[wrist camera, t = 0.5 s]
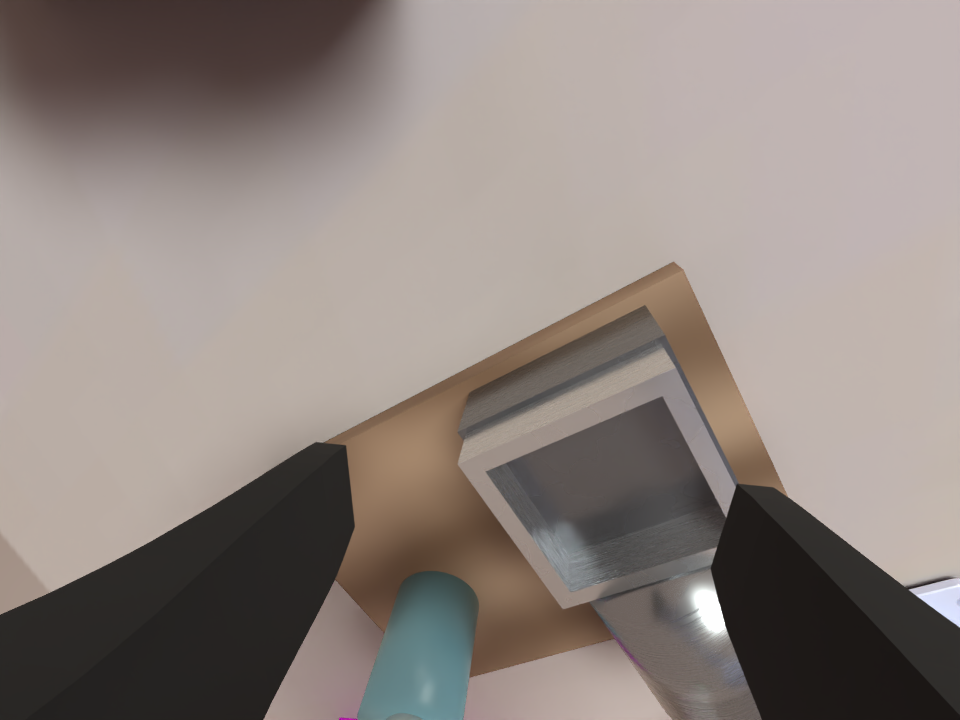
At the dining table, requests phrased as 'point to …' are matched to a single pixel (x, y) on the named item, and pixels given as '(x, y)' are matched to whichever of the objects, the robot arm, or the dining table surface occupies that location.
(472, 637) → the blue bottle white cap
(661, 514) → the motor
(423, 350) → the dining table surface
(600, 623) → the mounting board
